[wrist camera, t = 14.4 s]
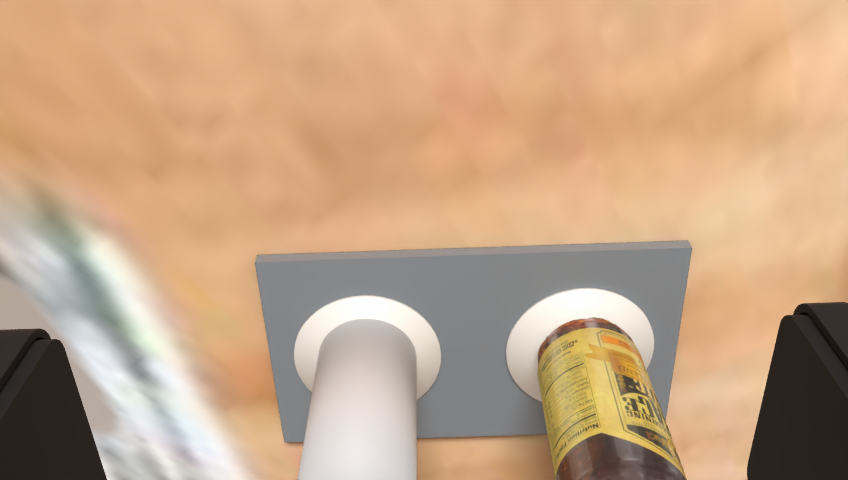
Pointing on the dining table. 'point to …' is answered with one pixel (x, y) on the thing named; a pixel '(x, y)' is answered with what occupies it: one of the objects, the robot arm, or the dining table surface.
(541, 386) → the sauce bottle
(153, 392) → the dining table surface
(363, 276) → the board
